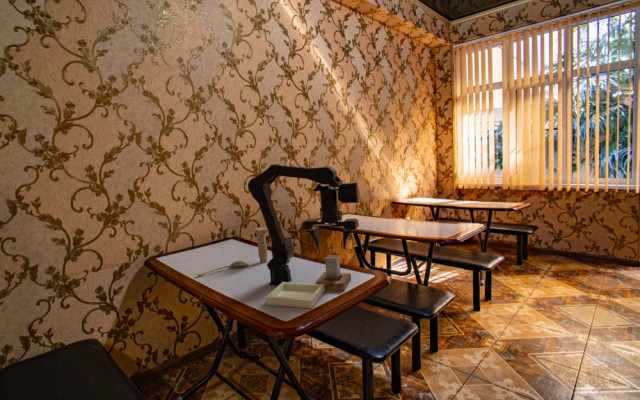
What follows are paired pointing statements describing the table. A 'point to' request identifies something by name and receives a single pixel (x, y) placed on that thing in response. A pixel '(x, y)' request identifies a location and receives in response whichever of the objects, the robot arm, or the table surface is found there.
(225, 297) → the table surface
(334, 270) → the grey rectangular block
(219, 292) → the table surface
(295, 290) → the tray
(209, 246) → the table surface
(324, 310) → the table surface
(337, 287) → the holder
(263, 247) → the handle
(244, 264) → the soupspoon
